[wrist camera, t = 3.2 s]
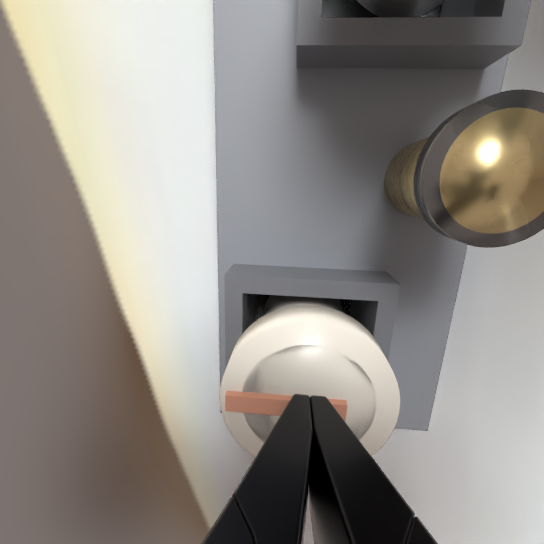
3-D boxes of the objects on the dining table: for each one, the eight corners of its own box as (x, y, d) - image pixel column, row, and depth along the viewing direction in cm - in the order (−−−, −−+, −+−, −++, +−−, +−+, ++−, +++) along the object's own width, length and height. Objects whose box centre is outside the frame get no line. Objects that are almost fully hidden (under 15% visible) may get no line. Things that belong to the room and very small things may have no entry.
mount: (513, -192, 9) (672, -473, 5) (406, 391, 15) (444, 462, 11) (229, -177, 10) (185, -421, 6) (232, 377, 15) (211, 441, 12)
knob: (364, 269, 12) (417, 333, 7) (351, 369, 14) (388, 489, 8) (250, 264, 13) (216, 320, 7) (249, 361, 14) (219, 472, 9)
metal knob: (478, 130, 9) (608, 90, 5) (459, 226, 10) (559, 250, 6) (380, 129, 9) (439, 88, 6) (369, 223, 10) (413, 244, 6)
